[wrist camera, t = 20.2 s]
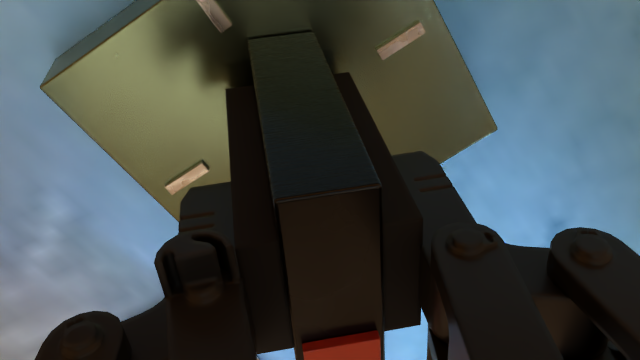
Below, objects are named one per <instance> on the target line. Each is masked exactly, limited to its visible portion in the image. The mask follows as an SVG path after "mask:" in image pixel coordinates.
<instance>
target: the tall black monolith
mask: <svg viewBox="0 0 640 360" xmlns="http://www.w3.org/2000/svg"><path fill="white" fill-rule="evenodd" d="M248 48H249V55H250V62H251V69H252V75H253V82H254V89H255V95H256V101H257V108H258V114H259V120H260V127H261V133H262V139H263V146H264V152H265V158H266V165H267V171H268V177H269V184H270V190H271V196H272V203H273V209H274V215H275V222H276V228H277V234H278V241H279V247H280V253H281V260H282V267H283V274H284V281H285V288H286V294H287V301H288V308H289V315H290V322H291V329H292V336H293V343H294V351H295V358H296V360H385V344H384V279H383V214H382V184H381V182H380V180H379V178H378V175H377V173H376V171H375V169H374V166H373V164H372V162H371V160H370V157H369V155H368V153H367V151H366V148H365V146H364V144H363V142H362V139H361V137H360V135H359V133H358V130H357V128H356V126H355V124H354V122H353V119H352V117H351V115H350V113H349V110H348V108H347V106H346V104H345V101H344V99H343V97H342V95H341V92H340V90H339V88H338V86H337V83H336V81H335V79H334V77H333V74H332V72H331V70H330V68H329V65H328V63H327V61H326V59H325V56H324V54H323V52H322V50H321V47H320V45H319V43H318V41H317V38H316V36H315V34H314V32H306V33H298V34H290V35H282V36H274V37H266V38H259V39H251V40H248Z"/></svg>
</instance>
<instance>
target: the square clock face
mask: <svg viewBox="0 0 640 360" xmlns="http://www.w3.org/2000/svg"><path fill="white" fill-rule="evenodd" d="M306 32H314V34H315V36H316V38H317V41H318V43H319V45H320V47H321V50H322V52H323V54H324V56H325V59H326V61H327V63H328V65H329V68H330V70H331V72H332V74H337V73H344V72H349V73H350V75H351V77H352V79H353V81H354V83H355V85H356V87H357V89H358V90H359V92H360V94H361V96H362V98H363V100H364V102H365V104H366V106H367V108H368V110H369V112H370V114H371V116H372V118H373V120H374V122H375V124H376V126H377V128H378V130H379V132H380V134H381V136H382V138H383V140H384V142H385V144H386V146H387V148H388V150H389V152H390V154H391V155H396V154H403V153H409V152H416V151H423V152H425V153H426V154H428V155H429V156H431V157H432V158H434V159H436V160H437V161H438V162H439V164H440V163H442V162H444V161H446V160H447V159H449V158H451V157H452V156H454V155H456V154H457V153H459V152H461V151H462V150H464V149H466V148H468V147H469V146H471V145H473V144H474V143H476V142H478V141H479V140H481V139H483V138H484V137H486V136H488V135H490V134H491V133H493V132H495V131H496V130H497V126H496V124H495V122H494V120H493V118H492V116H491V114H490V112H489V110H488V108H487V106H486V104H485V102H484V100H483V98H482V96H481V94H480V92H479V90H478V88H477V86H476V84H475V82H474V80H473V78H472V76H471V74H470V72H469V70H468V68H467V66H466V64H465V62H464V60H463V58H462V56H461V54H460V52H459V50H458V48H457V46H456V44H455V42H454V40H453V38H452V36H451V34H450V32H449V30H448V28H447V26H446V24H445V22H444V20H443V18H442V16H441V14H440V12H439V10H438V8H437V6H436V4H435V2H434V0H136V1H135V2H134V3H132V4H131V5H130V6H128V7H127V8H125V9H124V10H123V11H121V12H120V13H118V14H117V15H116V16H114V17H113V18H112V19H110V20H109V21H107V22H106V23H105V24H103V25H102V26H101V27H99V28H98V29H96V30H95V31H94V32H92V33H91V34H89V35H88V36H87V37H85V38H84V39H83V40H81V41H80V42H78V43H77V44H76V45H74V46H73V47H72V48H70V49H69V50H67V51H66V52H65V53H63V54H62V55H60V56H59V57H58V58H56V59H55V61H54V63H53V64H52V66H51V68H50V70H49V71H48V73H47V75H46V77H45V78H44V80H43V82H42V83H41V85H40V89H41V90H42V91H43V92H44V93H45V94H46V95H47V96H48V97H49V98H50V99H51V100H52V101H54V102H55V103H56V104H57V105H58V106H59V107H60V108H61V109H62V110H63V111H64V112H65V113H66V114H67V115H68V116H69V117H70V118H71V119H72V120H73V121H74V122H75V123H76V124H77V125H78V126H79V127H81V128H82V129H83V130H84V131H85V132H86V133H87V134H88V135H89V136H90V137H91V138H92V139H93V140H94V141H95V142H96V143H97V144H98V145H99V146H100V147H101V148H102V149H103V150H104V151H105V152H107V153H108V154H109V155H110V156H111V157H112V158H113V159H114V160H115V161H116V162H117V163H118V164H119V165H120V166H121V167H122V168H123V169H124V170H125V171H126V172H127V173H128V174H129V175H130V176H131V177H132V178H134V179H135V180H136V181H137V182H138V183H139V184H140V185H141V186H142V187H143V188H144V189H145V190H146V191H147V192H148V193H149V194H150V195H151V196H152V197H153V198H154V199H155V200H156V201H157V202H158V203H159V204H161V205H162V206H163V207H164V208H165V209H166V210H167V211H168V212H169V213H170V214H171V215H172V216H173V217H174V218H175V219H176V220H177V221H178V222H179V220H180V218H179V215H180V202H181V201H182V199H183V198H184V196H185V195H186V193H187V192H188V190H189V189H190V188H191V187H198V186H204V185H211V184H217V183H224V182H230V181H231V177H230V160H229V143H228V126H227V109H226V92H225V89H230V88H237V87H244V86H251V85H254V82H253V75H252V69H251V62H250V55H249V48H248V40H251V39H259V38H266V37H274V36H282V35H290V34H298V33H306Z"/></svg>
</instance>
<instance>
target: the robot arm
mask: <svg viewBox="0 0 640 360" xmlns="http://www.w3.org/2000/svg"><path fill="white" fill-rule="evenodd" d="M333 77H334V79H335V81H336V83H337V86H338V88H339V90H340V92H341V95H342V97H343V99H344V101H345V104H346V106H347V108H348V110H349V113H350V115H351V117H352V119H353V122H354V124H355V126H356V128H357V130H358V133H359V135H360V137H361V139H362V142H363V144H364V146H365V148H366V151H367V153H368V155H369V157H370V160H371V162H372V164H373V166H374V169H375V171H376V173H377V175H378V178H379V180H380V182H381V184H382V214H383V279H384V331H389V330H394V329H400V328H405V327H411V326H416V325H420V323H421V308H422V310H423V312H424V315H425V317H426V320H427V322H428V343H427V360H640V256H639V255H638V254H636V253H635V252H634V251H633V250H632V249H630V248H629V247H628V246H627V245H626V244H624V243H623V242H622V241H620V240H619V239H617V238H616V237H614V236H612V235H611V234H609V233H606V232H603V231H600V230H597V229H591V228H582V227H579V228H571V229H566V230H564V231H562V232H560V233H558V234H556V235H555V237H554V238H553V240H552V241H551V245H550V248H540V247H524V246H516V245H510V244H507V243H504V241H503V240H502V238H501V237H500V236H499V235H498V234H497V232H495V231H494V230H492V229H490V228H488V227H487V226H484V225H481V224H477V223H476V221H475V220H474V218H473V217H472V215H471V213H470V212H469V210H468V209H467V207H466V205H465V204H464V202H463V201H462V199H461V197H460V196H459V194H458V193H457V191H456V190H455V188H454V187H453V186H452V183H451V182H450V180H449V178H448V177H447V176H446V174H445V172H444V170H443V169H442V167H441V166H440V164H439V162H438V161H437V160H436V159H434V158H432V157H431V156H429V155H428V154H426V153H425V152H423V151H416V152H409V153H403V154H396V155H391V154H390V152H389V150H388V148H387V146H386V144H385V142H384V140H383V138H382V136H381V134H380V132H379V130H378V128H377V126H376V124H375V122H374V120H373V118H372V116H371V114H370V112H369V110H368V108H367V106H366V104H365V102H364V100H363V98H362V96H361V94H360V92H359V90H358V89H357V87H356V85H355V83H354V81H353V79H352V77H351V75H350V73H349V72H344V73H337V74H333ZM225 92H226V109H227V126H228V143H229V160H230V177H231V181H230V182H224V183H217V184H211V185H204V186H198V187H191V188H190V189H189V190H188V192H187V193H186V195H185V196H184V198H183V199H182V201H181V202H180V215H179V218H180V220H179V233H178V235H177V236H175V237H173V238H172V239H170V240H169V241H167V242H166V243H164V245H163V246H162V247H161V248H160V249H159V251H158V252H157V254H156V258H155V261H154V264H155V267H156V270H157V273H158V276H159V280H160V283H161V286H162V289H163V292H164V295H165V298H164V299H163V300H162V301H161V302H159V303H158V304H157V305H155V306H154V307H153V308H151V309H149V310H147V311H145V312H143V313H141V314H139V315H136V316H134V317H132V318H129V319H127V320H124V321H122V322H120V320H119V318H118V317H116V316H114V315H112V314H111V313H109V312H101V311H92V312H87V313H82V314H78V315H76V316H74V317H72V318H70V319H68V320H65V321H64V322H62V323H61V324H60V325H59V326H57V327H56V328H55V329H54V330H52V331H51V332H50V334H49V335H48V337H47V338H46V339H45V341H44V342H43V344H42V346H41V348H40V350H39V352H38V354H37V356H36V358H35V360H257V354H261V353H267V352H272V351H278V350H283V349H289V348H294V343H293V336H292V329H291V322H290V315H289V308H288V301H287V294H286V288H285V281H284V274H283V267H282V260H281V253H280V247H279V241H278V234H277V228H276V222H275V215H274V209H273V203H272V196H271V190H270V184H269V177H268V171H267V165H266V158H265V152H264V146H263V139H262V133H261V127H260V120H259V114H258V108H257V101H256V95H255V89H254V85H251V86H244V87H237V88H230V89H225ZM256 352H257V354H256Z"/></svg>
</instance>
